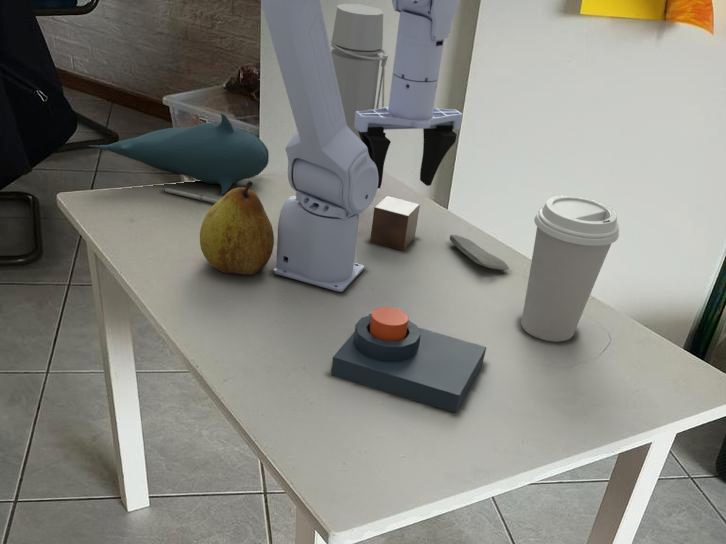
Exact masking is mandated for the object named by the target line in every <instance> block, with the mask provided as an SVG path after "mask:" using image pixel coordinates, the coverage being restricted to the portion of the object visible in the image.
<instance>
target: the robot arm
mask: <svg viewBox="0 0 726 544" xmlns="http://www.w3.org/2000/svg"><path fill="white" fill-rule="evenodd" d="M260 2H261V7H262V9H263V13H264V17H265V21H266V22H267V23H266V24H267V26H268V31H269V35H270V38H271V41H272V42H271V43H272V45H273V48H274V53H275V55H276V60H277V63H278V66H279V70H280V73H281V77H282V81H283V84H284V88H285V91H286V96H287V97H288V101H289V105H290V108H291V112H292V116H293V120H294V123H295V127H296V130H297V131H295V132H294V134H293V135H292V136H291V137H290V138H289V141H288V142H287V144H286V145H285V152H286V156H287V178H288V183H289V185H290V187H291V189H293V191H295V192H296V193H295V195H290V196H288V197H287V198H286V200H285V201H284V203H283V205H282V207H281V209H280V212H279V217H278V223H277V239H276V240H277V242H276V263H275V265H276V266H275V268H273V274H275V275H279V276H282V277H284V278H290V279H293V280H296V281H299V282H303V283H306V284H310V285H315V286H317V287H320V288H324V289H328V290H331V291H335V292H338V293H341V292H343V291H345V289H347V288H348V286H350V285H351V283H352V282H353V281H354V280H355V279H356V278H357V277H358V276H359V275H360V274H361V273H362V272H363V271H364V269H365V266H364V265H363V264H359V263H357V262H355V258H356V257H355V256H356V247H357V238H358V231H359V230H358V229H359V221H360V220H359V219H360V214H361V213H363V212H365V211H366V210H367V208H368V207H369V206H370V205H371V204H372V203H373V201H374V199H375V197H376V195H377V192H378V189H381V187H382V182H383V175H384V168H385V167H384V166H385V162H386V158H387V154H388V151H389V148H390V145H391V143H392V142H391V140H390V139H389V138H388V137H386V136H387V135H386V134H387V132H385V130H421V129H422V132H423V143H422V144H423V147H422V159H421V165H420V172H419V181H420V182H422V183H423V184H424V185H425V186H426V187H428V186H432V184H433V181H434V179H435V176H436V174H437V172H438V169H439V167H440V165H441V163H442V161H443V160H444V158H445V156H446V154H448V152H449V151H450V149H451V148H452V147H453V146H454V145H455V143H456V140H457V133H456V132H455V131H453V130H461V127H462V122H463V116H464V114H463V113H462V112H460V111H458V110H457V109H448V108H435V102H436V95H437V88H438V82H439V76H440V70H441V63H442V57H443V51H444V46H445V44H444V43H445V39H448V38H449V35H450V33H451V29H452V24H453V21H454V18H455V16H456V14H457V12H458V9H459V7H460V3H461V0H391V5H392V7H393V10H394V12H398V13H399V19H398V24H397V25H398V26H397V35H396V43H395V49H394V51H395V52H394V58H393V59H394V60H393V66H392V67H393V68H392V76H391V82H390V83H391V85H390V92H389V100H388V106H386V107H385V106H384V108H382V107H378V109H376V108H374V109H373V110H367V111H356V112H355V123H354V127H355V128H356V129H357V130H358V133H359V135H360V138H361V140H360V139H359V138H358V137H357V136H356V135H355V134H354V133H353V132H352V131H351V130H350V129H349V127H348V126H347V123H346V119H345V114H344V110H343V105H342V100H341V96H340V91H339V87H338V82H337V77H336V73H335V68H334V64H333V59H332V55H331V51H332V49H331V44H330V41H329V36H328V32H327V27H326V23H325V17H324V15H323V14H324V13H323V9H322V5H321V0H260Z"/></svg>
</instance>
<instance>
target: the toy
mask: <svg viewBox="0 0 726 544" xmlns="http://www.w3.org/2000/svg"><path fill="white" fill-rule="evenodd" d="M220 117H221V121H220V122H202V123H199V124H196V125H193V126H187V127H186V126H183V127H169V128H163V129H156V130H154V131H150V132H147V133H145V134H142V135H139V136H136V137H132V138H128V139H127V138H126V139H123V140H120V141H117V142H113V143H110V144H100V145H92V144H91V145H87V147H90V148H98V150H101V151H109V152H112V153H114V154H117V155H119V156H122V157H125V158H128V159H131V160H135V161H137V162H140V163H143V164H145V165H146V166H150V167H152V168H155V169H157V170H161V171H163V172H167V173H172V174H177V175H183V176H188V177H190V178H192V179H195V180H197V181H200V182H203V183H205V184H211V185H220V187H221V191H220V195H225V194H226V193H228V192H229V189H230V188H231V187H232V185H233V183H237V182H240V181H242V180H247V179H251V178H254V177H257V176H258V175H259V174H261V173H262V172H263V171H264V170H265V169H266V168H267V167H268V164H269V160H270V159H269V154H270V153H269V149H268V148H267V147H268V146H267V145H266V144H265V143H264V142H263V140H261V139H260V138H259V136H257V135H255V134H253V133H251V132H248V131H245V130H242V129H240V128H238V127H235V126H234V125H232V123H231V121H230V120H229V118H228V117H227V116H226V115H225V114H223V113H220Z"/></svg>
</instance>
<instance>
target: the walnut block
mask: <svg viewBox="0 0 726 544" xmlns="http://www.w3.org/2000/svg"><path fill="white" fill-rule="evenodd" d="M420 208H421V204H420V203H417V202H413V201H409V200H405V199H400V198H397V197H392V196H389V195H386V196H385V197H384V198H382V199H381V200H380V201H379V202H378V203H377V204H376V205H375V206H374V207H373V213H372V224H371V231H370V238H369V239H370V240H369V242H370V243H372V244H376V245H381V246H383V247H387V248H391V249H395V250H398V251H405V250H406V249H407V248H408V246H409V245H410V244H411V243H412V242H413V241H414V240H415V239H416V231H417V225H418V219H419V215H420Z"/></svg>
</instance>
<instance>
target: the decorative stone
mask: <svg viewBox="0 0 726 544" xmlns="http://www.w3.org/2000/svg"><path fill="white" fill-rule="evenodd" d="M449 241H450V242H451V243H452V244H453V245H454V246H455V247H456V248H457V249H458V250H459V251H460V252H461V253H463V255H465V256H466V257H467V258H468V259H470V260H472V261H473V262H474V263H475V264H478V265H480V266H481V267H485V268H487V269H491V270H500V271H505V270H506V271H507V270H509V269H510V266H509V265H508V264H507V263H506V262H505V261H504V260H502V259H501V258H499V257H497V256H496V255H494V254H492V253H489V252H488V251H487V250H485V249H483V248H482V247H480V246H479V245H478V244H476V243H475V242H473V241H472V240H470V239H469V238H466V237H463V236H461V235H457V234H450V235H449Z"/></svg>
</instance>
